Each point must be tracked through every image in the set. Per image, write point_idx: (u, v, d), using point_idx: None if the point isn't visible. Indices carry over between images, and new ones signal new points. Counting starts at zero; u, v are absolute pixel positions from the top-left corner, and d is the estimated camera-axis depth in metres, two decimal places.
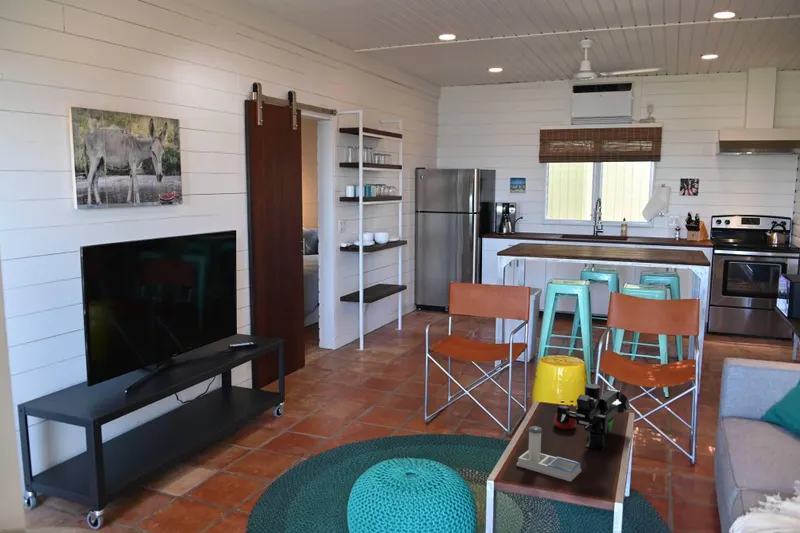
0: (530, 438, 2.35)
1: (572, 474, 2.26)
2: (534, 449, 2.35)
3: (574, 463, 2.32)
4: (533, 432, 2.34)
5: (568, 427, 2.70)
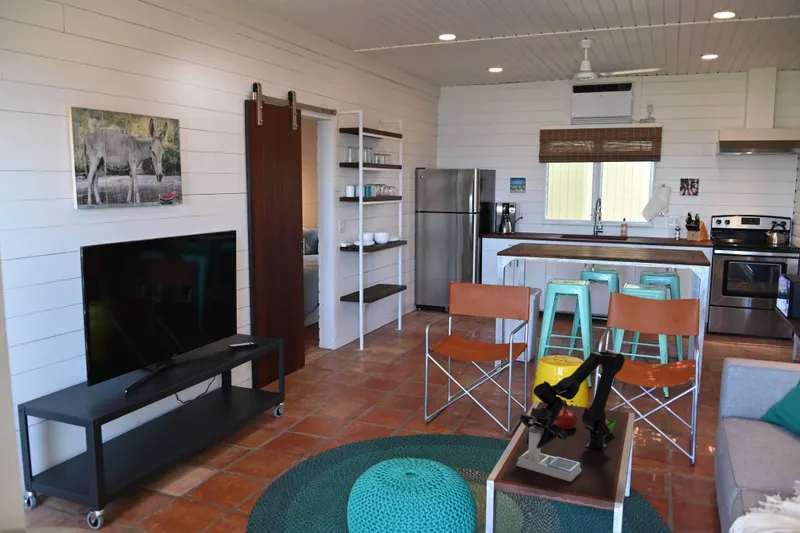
0: (530, 438, 2.35)
1: (572, 474, 2.26)
2: (534, 449, 2.35)
3: (574, 463, 2.32)
4: (533, 432, 2.34)
5: (568, 427, 2.70)
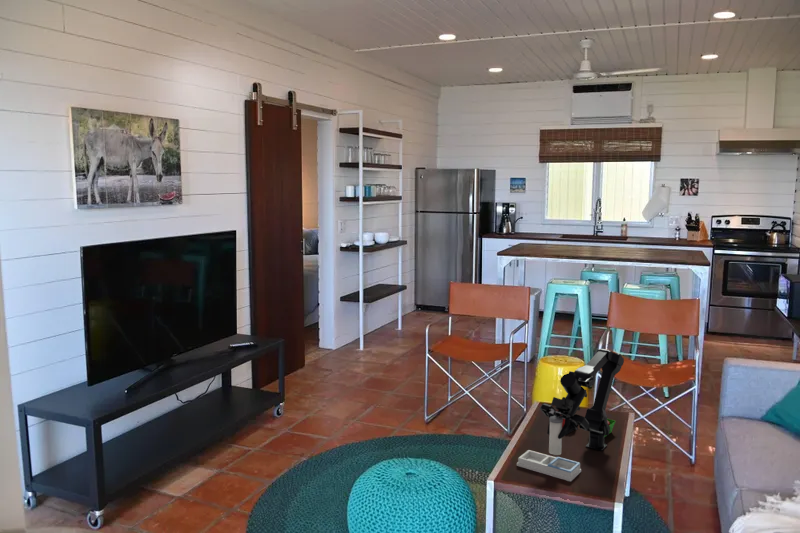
0: (551, 428, 2.30)
1: (572, 474, 2.26)
2: (555, 439, 2.29)
3: (574, 463, 2.32)
4: (554, 422, 2.28)
5: None
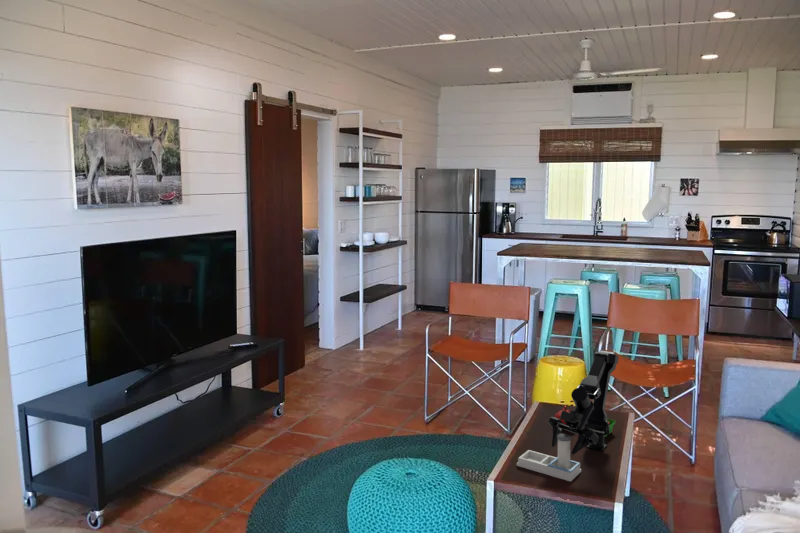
0: (559, 446, 2.28)
1: (572, 474, 2.26)
2: (564, 457, 2.28)
3: (574, 463, 2.32)
4: (562, 440, 2.27)
5: None
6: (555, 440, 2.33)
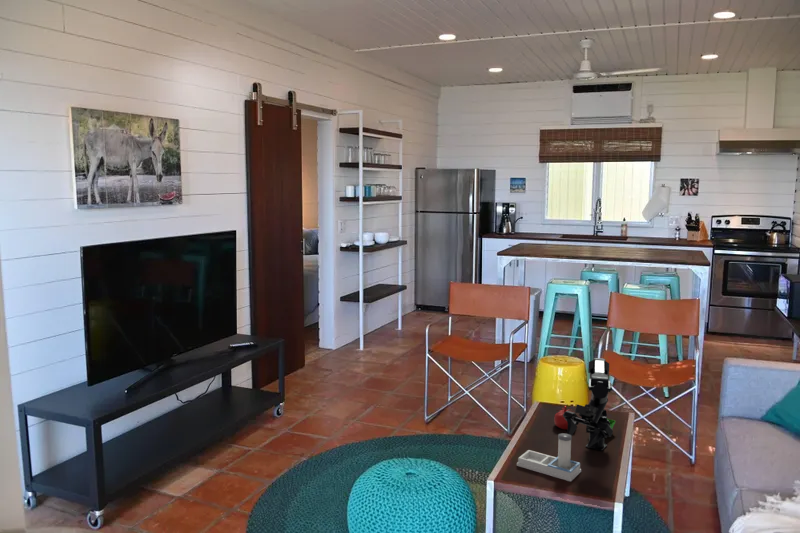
0: (560, 446, 2.28)
1: (572, 474, 2.26)
2: (564, 457, 2.28)
3: (574, 463, 2.32)
4: (563, 439, 2.27)
5: None
6: (570, 433, 2.39)
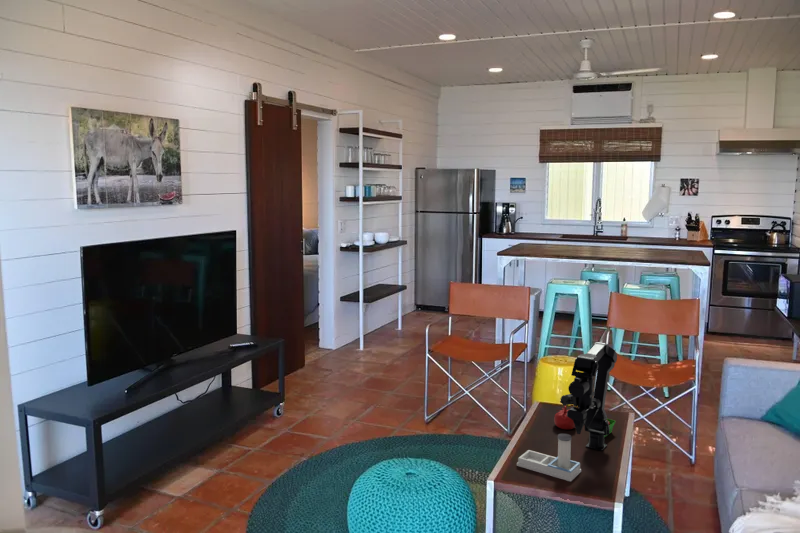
0: (559, 446, 2.28)
1: (572, 474, 2.26)
2: (564, 457, 2.28)
3: (574, 463, 2.32)
4: (563, 440, 2.27)
5: (568, 427, 2.70)
6: (587, 419, 2.41)
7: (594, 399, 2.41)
